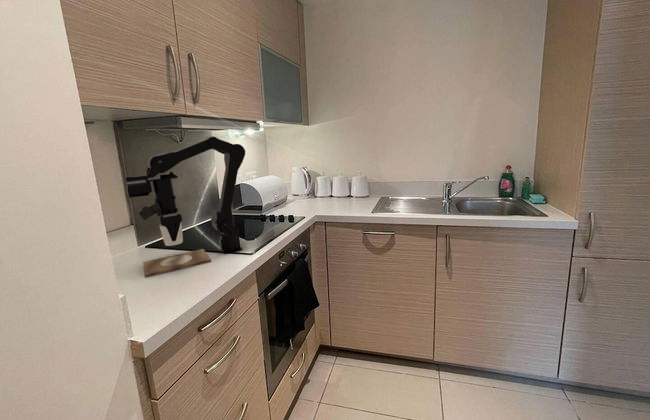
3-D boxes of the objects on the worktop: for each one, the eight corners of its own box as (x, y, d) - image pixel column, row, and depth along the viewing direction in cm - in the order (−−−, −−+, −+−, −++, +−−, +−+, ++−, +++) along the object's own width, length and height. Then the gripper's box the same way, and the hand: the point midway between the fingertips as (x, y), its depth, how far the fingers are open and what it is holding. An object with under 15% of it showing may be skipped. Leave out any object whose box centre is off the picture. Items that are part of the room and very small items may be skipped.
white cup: (158, 245, 110) (154, 225, 108) (177, 239, 115) (174, 219, 114) (170, 247, 106) (166, 226, 104) (189, 241, 111) (185, 221, 110)
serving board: (203, 251, 123) (203, 248, 122) (211, 261, 111) (210, 258, 110) (143, 264, 113) (143, 261, 113) (145, 277, 101) (144, 274, 101)
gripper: (136, 194, 111) (145, 238, 114) (136, 201, 95) (147, 251, 98) (171, 189, 116) (179, 231, 119) (177, 195, 100) (186, 243, 104)
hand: (173, 238), depth 110 cm, fingers closed on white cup, 6 cm apart
